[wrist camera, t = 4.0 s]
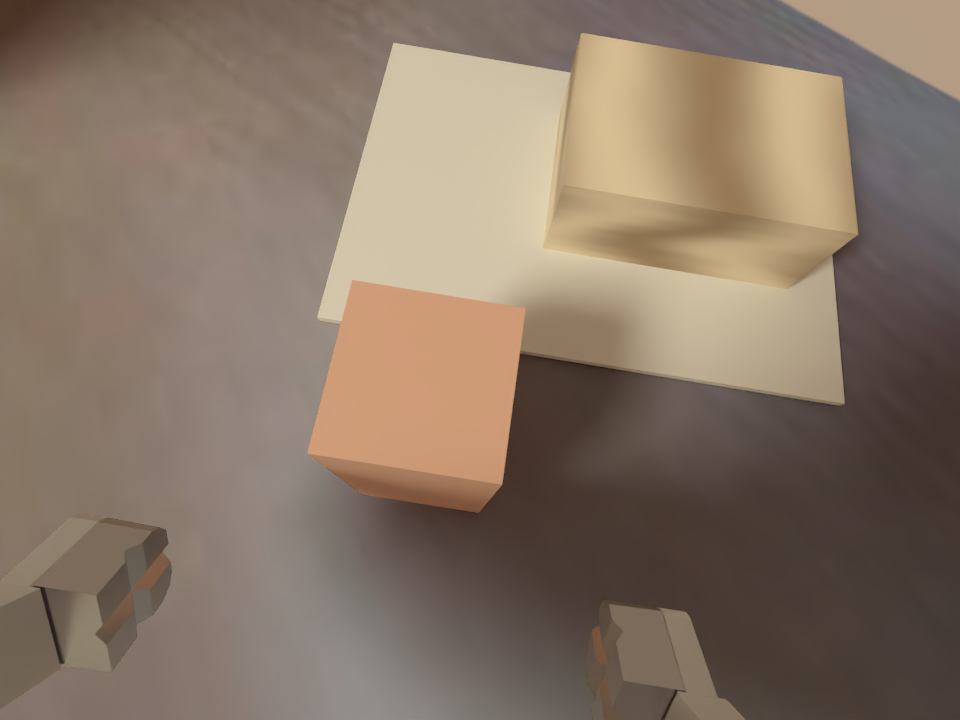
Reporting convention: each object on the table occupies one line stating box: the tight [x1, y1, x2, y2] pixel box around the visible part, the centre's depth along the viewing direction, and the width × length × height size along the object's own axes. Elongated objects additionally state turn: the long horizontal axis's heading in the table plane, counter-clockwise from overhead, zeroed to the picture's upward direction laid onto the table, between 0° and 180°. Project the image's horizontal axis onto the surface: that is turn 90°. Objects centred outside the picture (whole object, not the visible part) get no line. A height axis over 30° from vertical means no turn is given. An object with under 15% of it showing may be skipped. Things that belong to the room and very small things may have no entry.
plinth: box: [543, 33, 858, 289], centre depth 21 cm, size 10×7×4 cm
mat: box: [317, 43, 845, 406], centre depth 23 cm, size 20×14×1 cm
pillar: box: [307, 280, 526, 513], centre depth 15 cm, size 4×4×8 cm
